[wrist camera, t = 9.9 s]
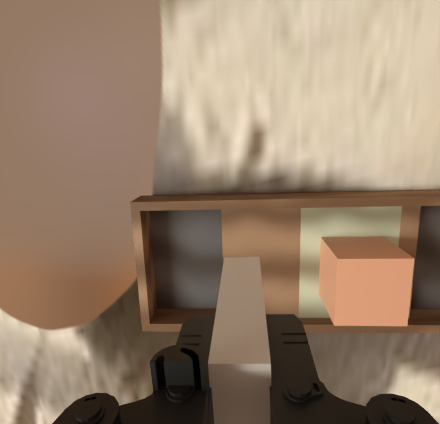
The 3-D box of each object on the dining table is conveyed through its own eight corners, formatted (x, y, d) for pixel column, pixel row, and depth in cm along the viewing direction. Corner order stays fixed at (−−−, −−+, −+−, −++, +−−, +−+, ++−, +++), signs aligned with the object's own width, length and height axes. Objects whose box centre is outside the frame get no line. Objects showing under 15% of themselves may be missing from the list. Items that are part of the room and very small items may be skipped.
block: (320, 236, 39) (337, 258, 32) (383, 236, 38) (414, 258, 31) (318, 293, 40) (334, 325, 34) (378, 293, 40) (407, 326, 33)
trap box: (140, 195, 42) (130, 202, 38) (501, 188, 39) (530, 194, 35) (150, 314, 45) (142, 331, 41) (481, 315, 42) (506, 333, 38)
